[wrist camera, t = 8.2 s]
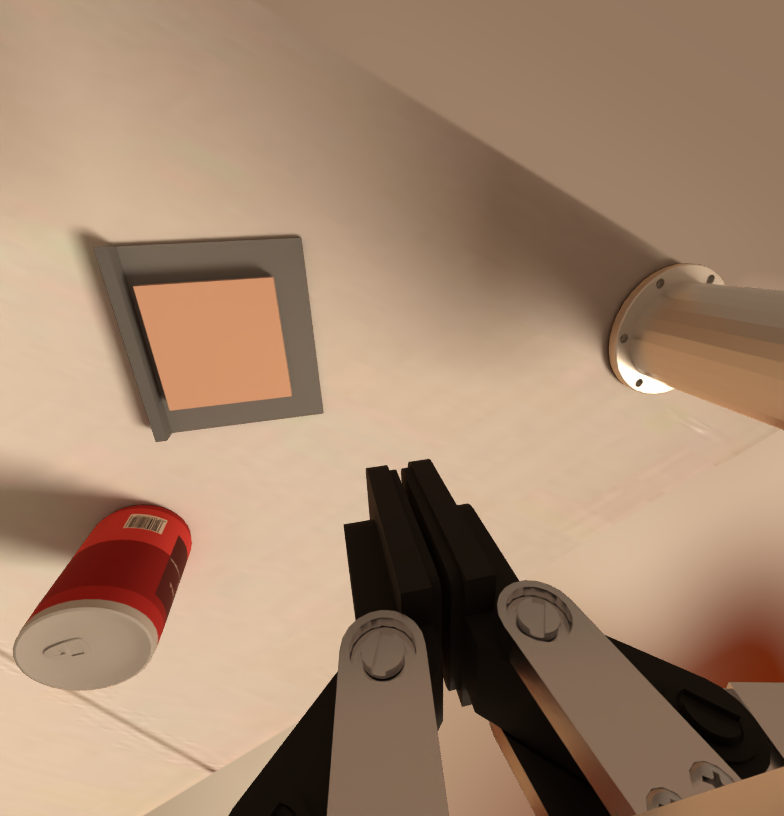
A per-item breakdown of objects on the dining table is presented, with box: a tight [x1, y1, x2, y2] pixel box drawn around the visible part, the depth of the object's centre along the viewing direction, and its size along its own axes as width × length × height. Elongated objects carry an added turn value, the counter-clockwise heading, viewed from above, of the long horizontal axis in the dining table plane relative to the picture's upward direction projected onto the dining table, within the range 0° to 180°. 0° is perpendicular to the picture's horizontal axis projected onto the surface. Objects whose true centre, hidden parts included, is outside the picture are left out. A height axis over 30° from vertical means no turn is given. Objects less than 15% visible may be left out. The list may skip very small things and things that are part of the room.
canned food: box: [13, 505, 192, 691], centre depth 30 cm, size 8×8×11 cm
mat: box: [93, 238, 323, 442], centre depth 30 cm, size 13×14×2 cm
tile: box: [133, 276, 292, 411], centre depth 29 cm, size 2×9×9 cm
